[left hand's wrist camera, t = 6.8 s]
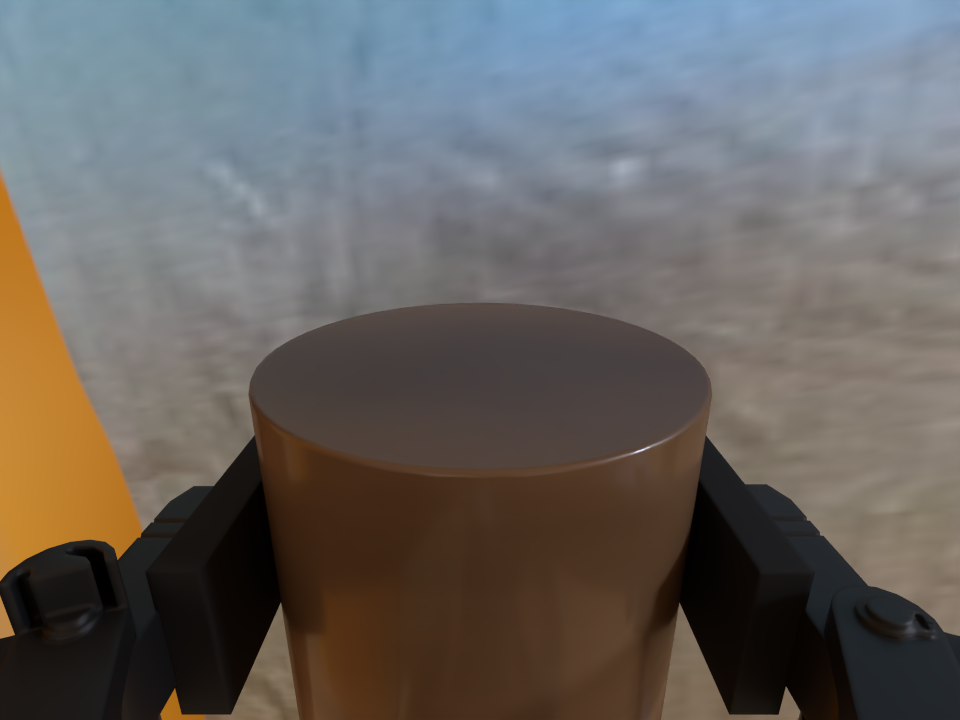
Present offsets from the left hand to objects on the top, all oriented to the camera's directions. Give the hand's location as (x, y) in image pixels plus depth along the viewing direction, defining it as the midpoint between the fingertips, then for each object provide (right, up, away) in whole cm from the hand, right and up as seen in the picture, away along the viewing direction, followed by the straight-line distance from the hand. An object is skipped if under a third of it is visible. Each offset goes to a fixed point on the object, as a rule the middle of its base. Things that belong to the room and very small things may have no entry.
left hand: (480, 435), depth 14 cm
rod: (0, -9, +4) cm, 9 cm away
